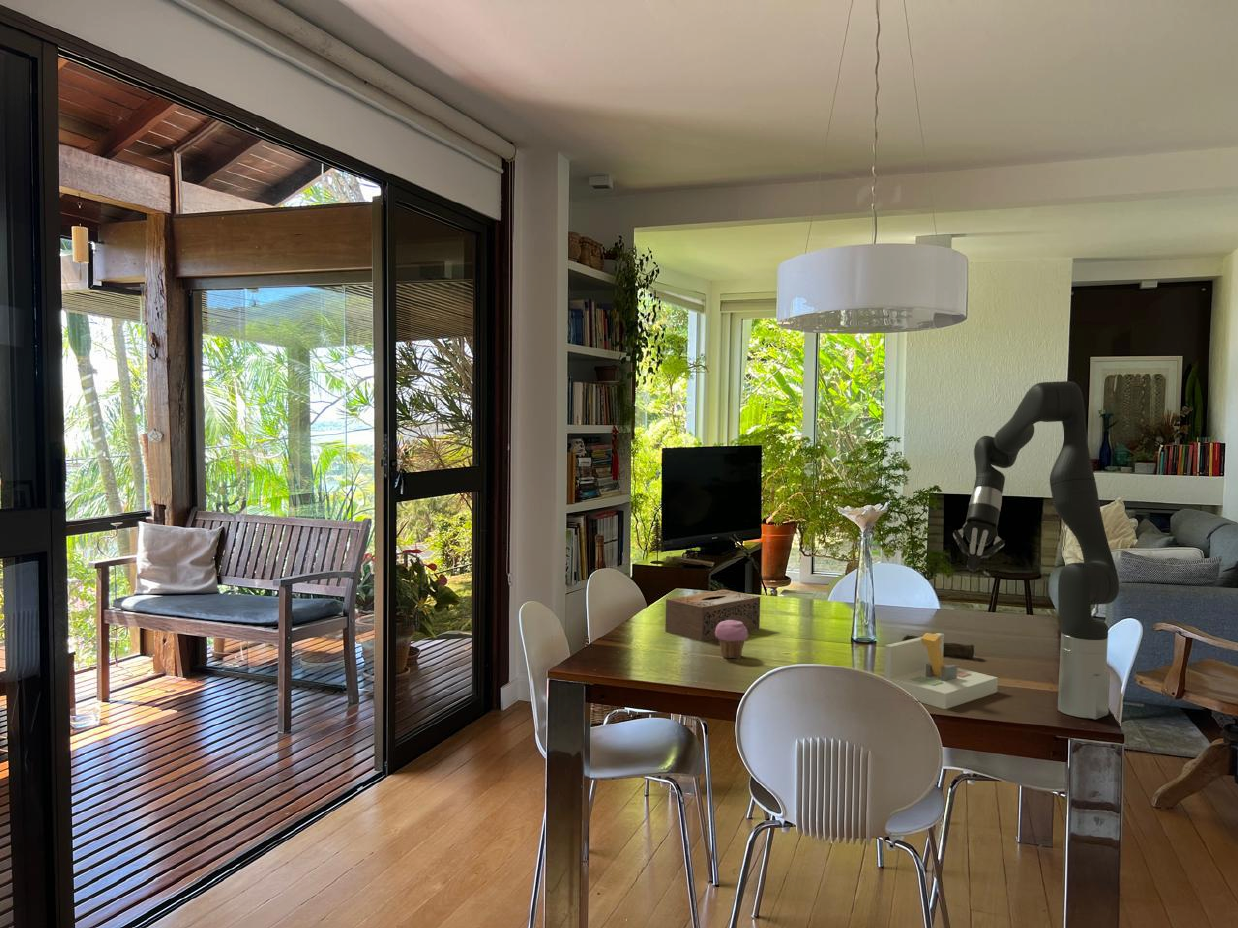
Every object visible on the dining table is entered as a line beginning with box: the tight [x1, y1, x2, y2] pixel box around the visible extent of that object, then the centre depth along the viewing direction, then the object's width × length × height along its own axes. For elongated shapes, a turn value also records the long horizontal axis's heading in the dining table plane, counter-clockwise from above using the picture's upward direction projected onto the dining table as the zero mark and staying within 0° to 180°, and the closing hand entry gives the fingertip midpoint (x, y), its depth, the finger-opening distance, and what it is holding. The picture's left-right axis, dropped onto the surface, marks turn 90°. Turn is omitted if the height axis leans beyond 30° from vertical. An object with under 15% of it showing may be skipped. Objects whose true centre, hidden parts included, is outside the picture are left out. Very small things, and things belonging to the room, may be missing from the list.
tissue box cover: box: [664, 589, 761, 642], centre depth 277 cm, size 26×14×10 cm, turn 132°
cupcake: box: [715, 620, 749, 659], centre depth 246 cm, size 9×9×10 cm
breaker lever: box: [921, 632, 946, 676], centre depth 216 cm, size 2×4×10 cm, turn 39°
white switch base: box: [883, 632, 999, 710], centre depth 218 cm, size 22×16×11 cm
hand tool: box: [901, 634, 975, 661], centre depth 253 cm, size 19×4×5 cm, turn 63°
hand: (972, 570), depth 231 cm, fingers closed
